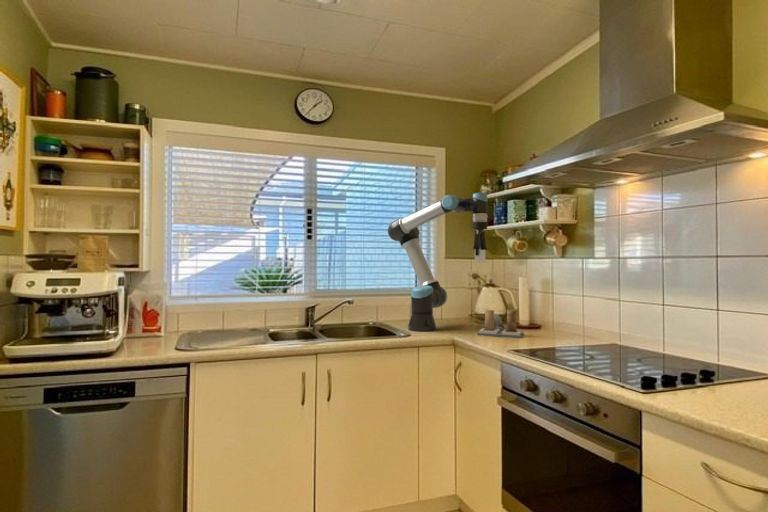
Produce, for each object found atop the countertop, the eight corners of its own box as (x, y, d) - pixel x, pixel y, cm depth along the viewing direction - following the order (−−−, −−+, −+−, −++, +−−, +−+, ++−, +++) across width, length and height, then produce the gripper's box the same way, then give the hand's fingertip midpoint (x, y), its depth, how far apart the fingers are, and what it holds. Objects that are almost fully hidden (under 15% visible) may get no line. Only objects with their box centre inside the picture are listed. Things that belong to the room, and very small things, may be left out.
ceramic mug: (482, 329, 239) (483, 315, 239) (489, 327, 245) (489, 313, 245) (501, 331, 232) (501, 317, 232) (507, 329, 238) (507, 315, 238)
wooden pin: (506, 333, 217) (506, 311, 217) (508, 332, 221) (507, 310, 221) (515, 334, 216) (515, 312, 216) (517, 333, 220) (516, 311, 220)
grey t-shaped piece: (477, 335, 220) (477, 311, 220) (482, 331, 230) (482, 308, 231) (520, 338, 211) (520, 313, 211) (523, 334, 222) (523, 310, 222)
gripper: (482, 219, 222) (482, 261, 221) (491, 223, 244) (491, 261, 244) (467, 220, 225) (467, 261, 224) (478, 224, 248) (478, 261, 247)
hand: (480, 261), depth 234 cm, fingers open, 13 cm apart
